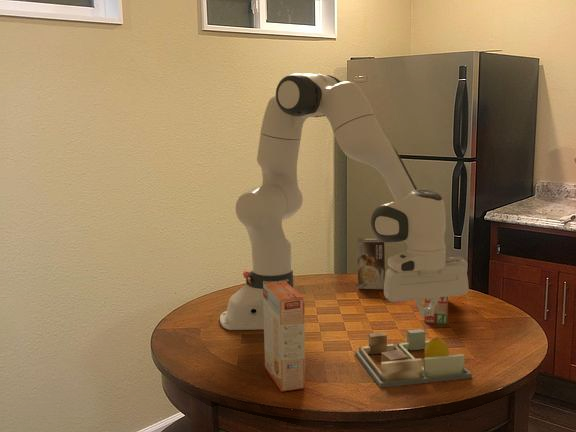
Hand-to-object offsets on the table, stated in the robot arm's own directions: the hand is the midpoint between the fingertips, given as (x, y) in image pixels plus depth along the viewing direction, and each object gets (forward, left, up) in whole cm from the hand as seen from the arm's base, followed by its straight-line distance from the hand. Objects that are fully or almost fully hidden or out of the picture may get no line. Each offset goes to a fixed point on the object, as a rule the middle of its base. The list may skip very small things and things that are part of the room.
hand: (426, 315), depth 151 cm
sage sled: (0, -3, -10) cm, 11 cm away
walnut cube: (-10, -7, -11) cm, 16 cm away
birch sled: (-10, -3, -10) cm, 15 cm away
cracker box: (-35, -4, -11) cm, 37 cm away
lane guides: (-5, -4, -11) cm, 12 cm away
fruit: (0, -7, -11) cm, 13 cm away
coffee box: (+6, +59, -11) cm, 61 cm away
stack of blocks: (+16, +31, -11) cm, 37 cm away
